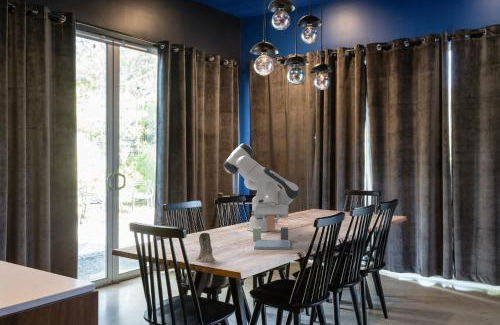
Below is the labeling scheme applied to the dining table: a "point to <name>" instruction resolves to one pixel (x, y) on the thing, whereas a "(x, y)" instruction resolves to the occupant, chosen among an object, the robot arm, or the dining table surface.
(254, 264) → the dining table surface
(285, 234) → the charcoal brick
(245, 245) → the dining table surface
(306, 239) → the dining table surface
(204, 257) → the tree stump
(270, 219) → the terracotta brick
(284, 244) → the blue-grey baseplate
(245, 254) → the dining table surface
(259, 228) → the sage brick
